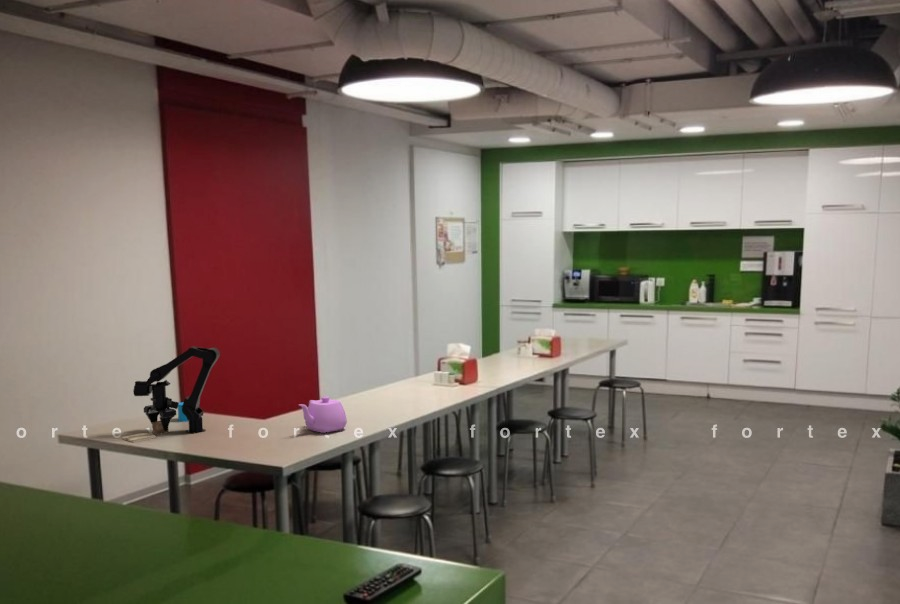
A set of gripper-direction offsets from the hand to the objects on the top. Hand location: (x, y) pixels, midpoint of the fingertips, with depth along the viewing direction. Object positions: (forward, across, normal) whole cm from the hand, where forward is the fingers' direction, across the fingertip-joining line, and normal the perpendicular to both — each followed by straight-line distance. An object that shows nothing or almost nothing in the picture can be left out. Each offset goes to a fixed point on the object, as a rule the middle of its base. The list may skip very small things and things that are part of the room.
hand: (160, 429), depth 324 cm
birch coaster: (+1, -2, +11) cm, 11 cm away
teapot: (+2, -57, -48) cm, 74 cm away
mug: (+2, +15, -23) cm, 28 cm away
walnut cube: (+2, 0, 0) cm, 2 cm away
